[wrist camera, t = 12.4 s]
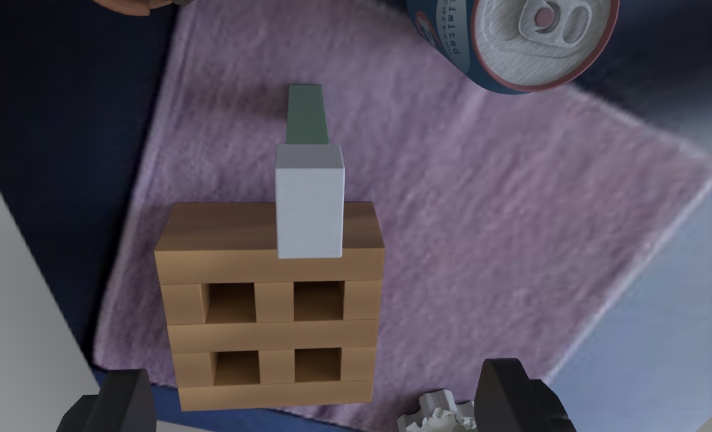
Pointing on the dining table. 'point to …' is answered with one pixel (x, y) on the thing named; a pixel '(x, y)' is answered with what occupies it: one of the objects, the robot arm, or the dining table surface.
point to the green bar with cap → (308, 181)
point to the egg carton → (439, 415)
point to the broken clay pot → (138, 5)
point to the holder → (268, 309)
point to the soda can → (517, 38)
